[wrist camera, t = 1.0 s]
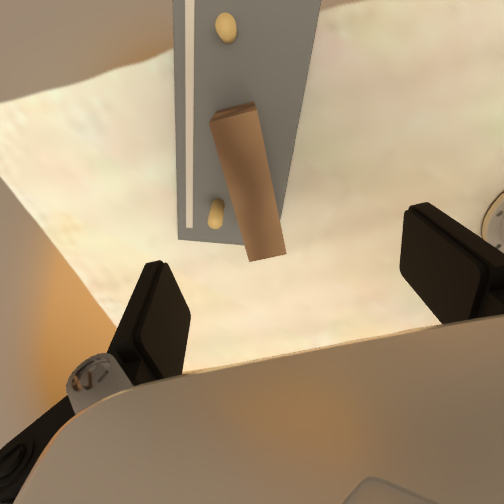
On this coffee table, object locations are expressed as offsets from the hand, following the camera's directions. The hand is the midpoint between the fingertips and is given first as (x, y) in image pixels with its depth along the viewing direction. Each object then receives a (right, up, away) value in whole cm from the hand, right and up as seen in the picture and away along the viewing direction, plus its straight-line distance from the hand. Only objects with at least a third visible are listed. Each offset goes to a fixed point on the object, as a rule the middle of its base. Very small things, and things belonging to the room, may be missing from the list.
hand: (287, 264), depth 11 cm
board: (-3, +14, +21) cm, 25 cm away
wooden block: (-2, +10, +22) cm, 24 cm away
